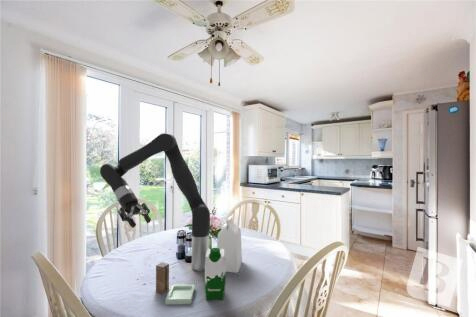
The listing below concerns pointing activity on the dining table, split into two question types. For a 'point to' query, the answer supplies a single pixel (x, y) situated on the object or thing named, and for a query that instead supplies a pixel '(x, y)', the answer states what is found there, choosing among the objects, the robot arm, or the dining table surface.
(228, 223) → the milk
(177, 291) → the rest
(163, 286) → the brown wooden slotted block
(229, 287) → the dining table surface
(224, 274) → the milk carton
